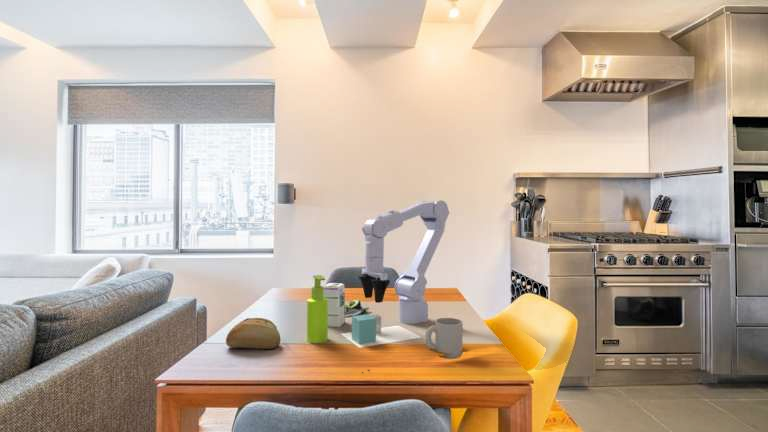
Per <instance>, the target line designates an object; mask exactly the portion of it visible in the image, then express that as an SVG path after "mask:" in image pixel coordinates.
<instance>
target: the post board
mask: <svg viewBox="0 0 768 432" xmlns="http://www.w3.org/2000/svg"><path fill="white" fill-rule="evenodd" d="M340 335H341V336H343V338H345V339H346V340H348V341H349V342H351V343H352V344H353V345H355V346H357V348H359V349H360V348H366V347H372V346H373V347H374V346H378V345H385V344H390V343H397V342H404V341H409V340H414V339H415V340H417V339H422V337H421V336H420V335H418V334H417V333H414V332H412V331H410V330H409V329H406V328H405V327H403V326H400V325H392V326H390V325H389V326H386V327H381V333H377V334H376V342H371V343H365V344H358V343H356V342H355V341H354V340H352V331H349V332H343V333H340Z"/></svg>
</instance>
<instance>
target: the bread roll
mask: <svg viewBox="0 0 768 432" xmlns="http://www.w3.org/2000/svg"><path fill="white" fill-rule="evenodd" d="M225 343H226V345H227V347H229V348H237V349H238V348H239V349H259V350H260V349H261V350H262V349H263V350H271V349H272V350H273V349H276V348H277V347H278V346H279V345H280V344H281V335H280V332H279V330H278V328H277V325H275V323H274V322H273V321H272V320H270V319H267V318H262V317H252V318H251V317H250V318H248V317H247V318H245V319H243V320H242V321H240V322H239V323H237V324H235V325H234V326H233V327H232V328H231V329H230V330H229V332H228V333H227V336H226V337H225Z"/></svg>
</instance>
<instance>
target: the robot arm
mask: <svg viewBox="0 0 768 432" xmlns="http://www.w3.org/2000/svg"><path fill="white" fill-rule="evenodd" d="M449 215H450V210H449V206H448V203H447V202H446V201H444V200H434V201H433V200H422V201H419V202H417V203H415V204H413V205H411V206H409V207H407V208H405V209H402V210H401V211H398V210H394V209H389V210H388V211H387V213H384V214H382V215H381V214H380V215H377V216H376V218H370V219H367V220H366V222H365V223H364V225H363V226H362V228H361V230H362V233H363V235H364V238H365V239H364V241H365V257H364V258H365V260H364V261H365V264H364V266H365V267H362V268H361V274H362V275H359V276H358V278H359V280H360V283H361V285H362V288H363V295H364V298H365V299H369V298H370V299H371V298H372V297H373V293H374V302H375V303H378V304H379V303H383V302H384V297H385V293H386V291H387V288H388V286H389V285H390V281H391V280H390V279H388V273H386V272H385V271H384V257H385V256H384V252H385V251H384V250H385V249H384V248H385V246H384V245H385V237H386V236H387V234H388V233H389V232H392V231H394V230H397V229H398V228H401V227H402V226H403V224H404V222H405V221H408V220H410V219H413V218H416V217H418V216H419V217H420V219H421V221H422V222H423V224H424V226H425V227H426V228H427V230H426V233H425V235H424V236H423V239H422V241H421V243H420V245H419V247H418V249H417V251H416V254H415V255H414V258H413V260H412V262H411V264H410V266H409V268H408V269H407V270H405V271H403V272H402V273H401V276H400V277H399V278H398V279H396V281H395V283H394V291H395V293H396V295H397V298H398V322H399V323H401V324H405V325H415V324H420V323H425V322H426V323H427V322H428V321H429V306H428V305H429V304H428V301H427V300H426V298H424V296H425V293H426V287H427V283H428V280H427V278H426V276H425V274H426V272H427V270H428V268H429V265H430V263H431V261H432V258H433V256H434V254H435V252H436V250H437V247H438V246H439V243H440V242H441V239H442V236H443V234H444V233H445V227H446V221H447V219H448V217H449Z"/></svg>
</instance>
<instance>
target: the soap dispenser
mask: <svg viewBox="0 0 768 432" xmlns="http://www.w3.org/2000/svg"><path fill="white" fill-rule="evenodd" d="M312 278H313V279H314V285H313V286H311V297H310V298H307V300H306V341H307V343H310V344H322V343H325V342H327V341H328V339H329V333H328V332H329V330H328V329H329V326H328V299H327V298H323V295H324V288H323V286H322V284H321V281H326V278H325V277H324V276H323V275H321V274H319V275H318V274H317V275H312Z"/></svg>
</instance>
